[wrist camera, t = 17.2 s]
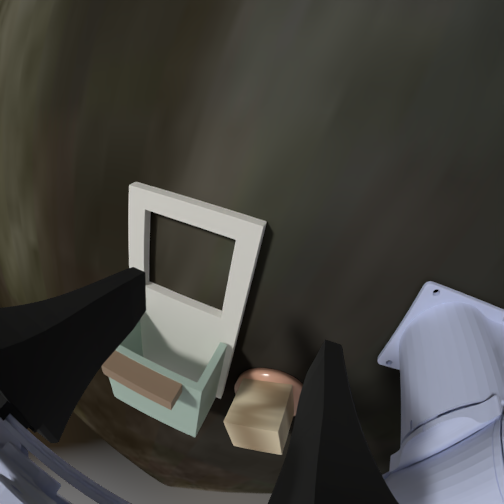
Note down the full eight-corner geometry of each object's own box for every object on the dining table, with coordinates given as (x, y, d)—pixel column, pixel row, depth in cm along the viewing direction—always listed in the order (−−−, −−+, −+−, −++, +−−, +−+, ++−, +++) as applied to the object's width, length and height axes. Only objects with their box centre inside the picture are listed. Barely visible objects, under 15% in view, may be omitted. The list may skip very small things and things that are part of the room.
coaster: (318, 383, 25) (317, 390, 24) (295, 418, 28) (293, 424, 28) (244, 357, 26) (241, 364, 25) (232, 396, 29) (229, 402, 29)
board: (266, 221, 19) (263, 226, 19) (223, 393, 30) (220, 398, 29) (135, 181, 21) (129, 184, 20) (140, 355, 31) (137, 360, 31)
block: (292, 384, 25) (277, 431, 20) (294, 411, 26) (281, 454, 22) (243, 377, 26) (223, 421, 22) (250, 405, 28) (233, 445, 24)
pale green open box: (227, 344, 24) (191, 411, 18) (215, 398, 29) (187, 452, 23) (133, 304, 25) (86, 354, 20) (139, 363, 30) (105, 408, 24)
